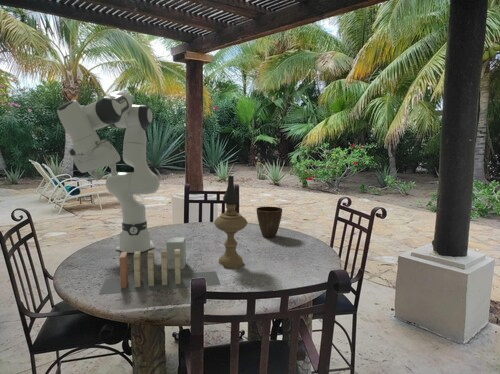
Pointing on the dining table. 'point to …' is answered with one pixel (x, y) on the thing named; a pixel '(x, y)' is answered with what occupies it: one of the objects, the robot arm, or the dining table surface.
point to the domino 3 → (151, 268)
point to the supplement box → (171, 245)
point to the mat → (157, 283)
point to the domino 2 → (137, 269)
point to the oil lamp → (230, 227)
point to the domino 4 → (164, 266)
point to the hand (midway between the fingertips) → (107, 177)
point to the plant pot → (269, 220)
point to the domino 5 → (177, 266)
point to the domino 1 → (123, 270)
